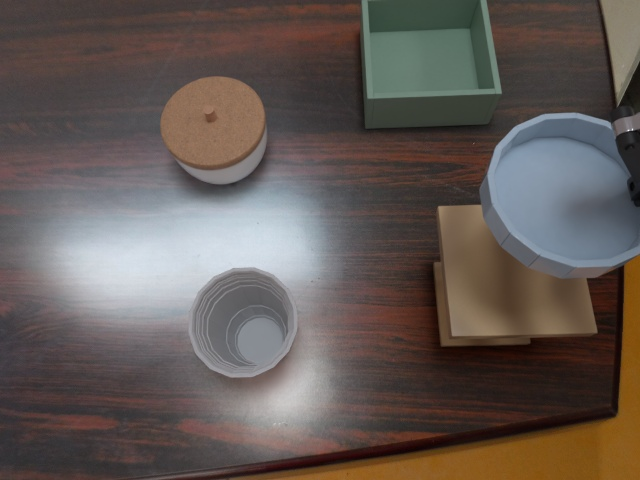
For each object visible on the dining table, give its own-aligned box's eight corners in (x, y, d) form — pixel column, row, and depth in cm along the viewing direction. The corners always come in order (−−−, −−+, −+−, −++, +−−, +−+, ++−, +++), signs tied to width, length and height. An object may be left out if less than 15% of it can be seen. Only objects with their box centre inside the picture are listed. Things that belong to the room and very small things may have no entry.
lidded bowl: (177, 201, 70) (148, 159, 60) (184, 119, 75) (159, 66, 64) (273, 198, 70) (261, 155, 59) (274, 116, 74) (263, 62, 64)
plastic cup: (203, 380, 62) (172, 366, 50) (226, 291, 65) (202, 258, 54) (296, 397, 60) (285, 386, 49) (313, 305, 64) (307, 275, 53)
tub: (473, 27, 78) (484, -10, 72) (488, 124, 72) (502, 93, 66) (359, 32, 79) (361, -4, 73) (365, 129, 73) (367, 98, 67)
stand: (525, 250, 66) (570, 201, 53) (543, 357, 61) (598, 333, 48) (419, 253, 66) (437, 205, 53) (428, 360, 61) (451, 336, 48)
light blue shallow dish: (623, 132, 41) (642, 109, 39) (662, 277, 37) (687, 263, 34) (469, 138, 42) (478, 116, 39) (490, 283, 38) (502, 270, 35)
